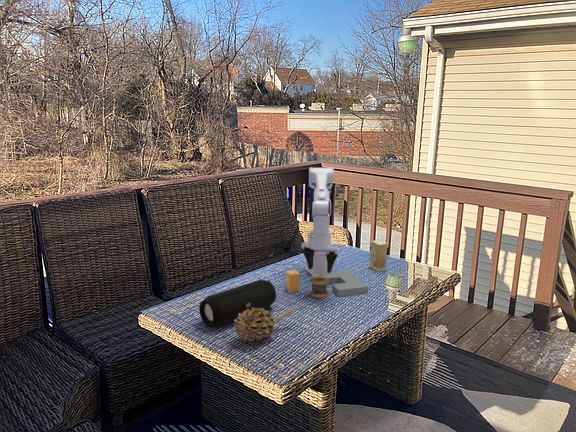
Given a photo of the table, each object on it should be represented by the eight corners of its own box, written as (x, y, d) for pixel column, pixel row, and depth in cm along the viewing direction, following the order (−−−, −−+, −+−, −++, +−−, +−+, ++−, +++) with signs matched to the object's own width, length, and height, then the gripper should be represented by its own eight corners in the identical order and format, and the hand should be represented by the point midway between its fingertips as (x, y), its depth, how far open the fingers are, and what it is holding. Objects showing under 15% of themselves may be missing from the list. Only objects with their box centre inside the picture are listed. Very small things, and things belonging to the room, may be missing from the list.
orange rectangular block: (286, 288, 175) (286, 271, 173) (296, 287, 176) (296, 270, 174) (289, 292, 171) (289, 274, 169) (299, 291, 172) (299, 273, 171)
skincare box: (368, 267, 198) (370, 240, 195) (377, 266, 200) (378, 239, 197) (377, 272, 192) (379, 244, 190) (386, 270, 194) (387, 243, 191)
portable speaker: (215, 334, 140) (214, 303, 137) (198, 322, 147) (197, 293, 144) (277, 309, 157) (278, 282, 154) (259, 300, 164) (259, 274, 161)
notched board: (320, 279, 184) (320, 273, 184) (347, 276, 188) (347, 270, 187) (338, 296, 167) (338, 290, 167) (367, 292, 171) (368, 286, 170)
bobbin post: (307, 291, 172) (307, 276, 170) (324, 289, 174) (324, 274, 172) (313, 299, 165) (314, 283, 164) (331, 296, 167) (332, 281, 166)
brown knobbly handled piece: (247, 354, 128) (247, 321, 126) (227, 341, 135) (226, 310, 133) (302, 328, 143) (302, 299, 141) (281, 318, 150) (281, 290, 148)
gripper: (297, 233, 163) (297, 269, 165) (334, 238, 155) (333, 276, 158) (307, 229, 169) (306, 264, 171) (343, 234, 161) (341, 271, 164)
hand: (319, 270), depth 165 cm, fingers open, 7 cm apart
